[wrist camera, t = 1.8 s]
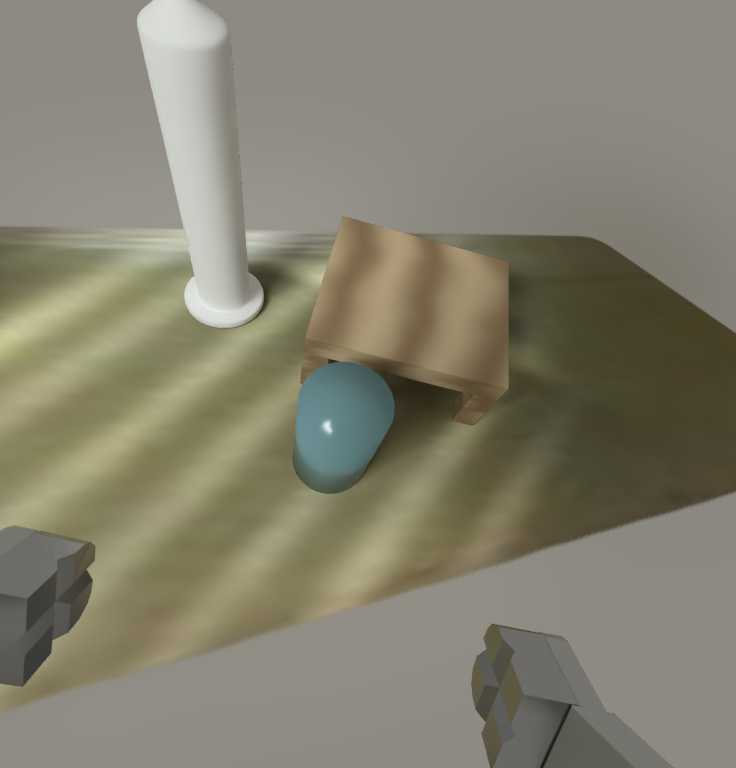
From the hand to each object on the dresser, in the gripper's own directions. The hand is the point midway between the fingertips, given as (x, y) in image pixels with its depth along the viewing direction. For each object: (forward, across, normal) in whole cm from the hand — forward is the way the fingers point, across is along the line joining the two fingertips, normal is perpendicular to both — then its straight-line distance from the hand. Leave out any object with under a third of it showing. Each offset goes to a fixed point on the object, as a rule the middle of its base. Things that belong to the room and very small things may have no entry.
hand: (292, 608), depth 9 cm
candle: (+34, +13, -1) cm, 36 cm away
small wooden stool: (+34, -4, -1) cm, 35 cm away
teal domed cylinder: (+25, 0, +8) cm, 26 cm away
